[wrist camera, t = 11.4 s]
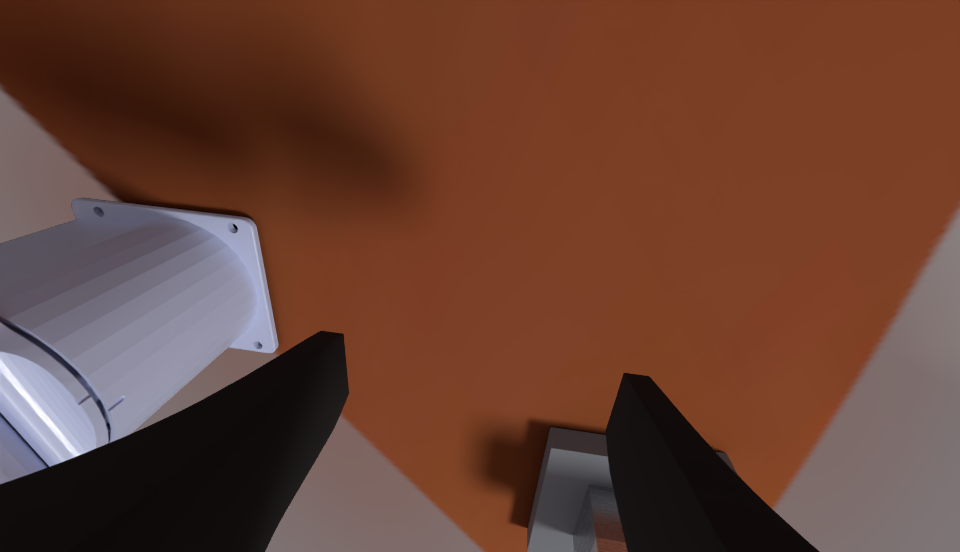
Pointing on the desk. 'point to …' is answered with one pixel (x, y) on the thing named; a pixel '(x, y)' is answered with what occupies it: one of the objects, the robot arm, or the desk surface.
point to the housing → (599, 523)
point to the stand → (568, 486)
